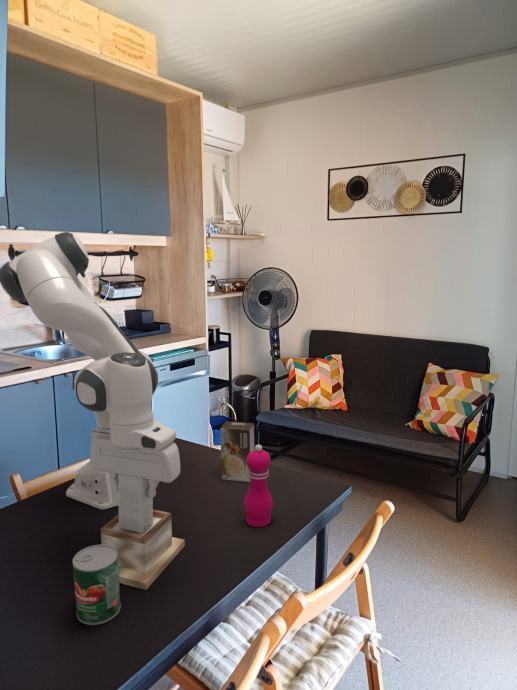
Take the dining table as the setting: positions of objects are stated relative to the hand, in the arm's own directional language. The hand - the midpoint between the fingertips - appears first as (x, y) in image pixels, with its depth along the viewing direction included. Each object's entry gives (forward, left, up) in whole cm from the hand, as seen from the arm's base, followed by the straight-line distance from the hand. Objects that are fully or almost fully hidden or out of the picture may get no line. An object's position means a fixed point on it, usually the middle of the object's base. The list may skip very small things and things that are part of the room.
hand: (135, 493), depth 105 cm
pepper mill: (+19, +24, -16) cm, 34 cm away
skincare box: (0, 0, -8) cm, 8 cm away
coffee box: (+5, +45, -16) cm, 48 cm away
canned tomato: (+2, -16, -16) cm, 22 cm away
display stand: (0, 0, -16) cm, 16 cm away
